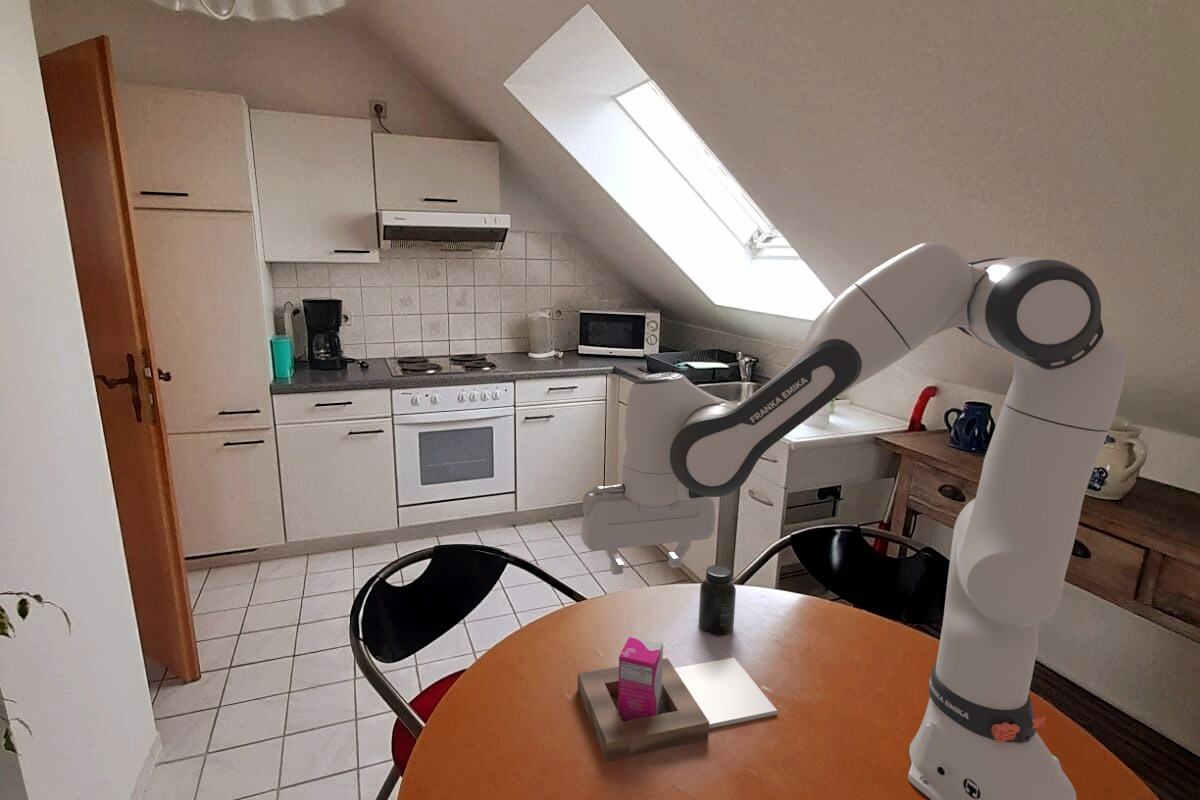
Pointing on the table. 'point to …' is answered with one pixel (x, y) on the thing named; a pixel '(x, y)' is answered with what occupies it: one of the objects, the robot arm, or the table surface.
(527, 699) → the table surface
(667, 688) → the walnut holder
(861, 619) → the table surface
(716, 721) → the white rectangular plate
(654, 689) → the supplement box
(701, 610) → the supplement bottle
